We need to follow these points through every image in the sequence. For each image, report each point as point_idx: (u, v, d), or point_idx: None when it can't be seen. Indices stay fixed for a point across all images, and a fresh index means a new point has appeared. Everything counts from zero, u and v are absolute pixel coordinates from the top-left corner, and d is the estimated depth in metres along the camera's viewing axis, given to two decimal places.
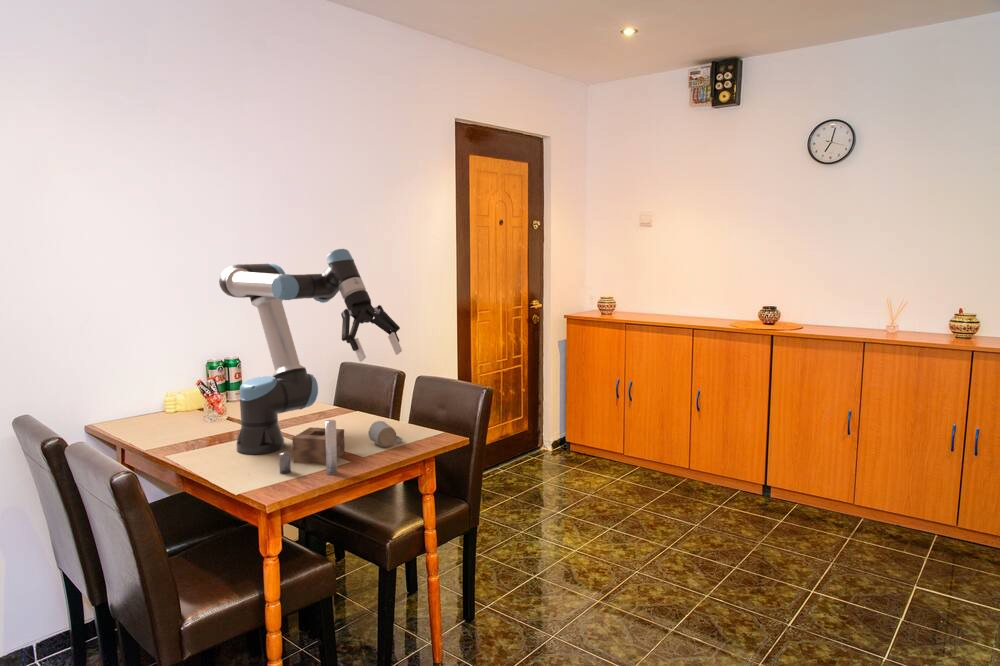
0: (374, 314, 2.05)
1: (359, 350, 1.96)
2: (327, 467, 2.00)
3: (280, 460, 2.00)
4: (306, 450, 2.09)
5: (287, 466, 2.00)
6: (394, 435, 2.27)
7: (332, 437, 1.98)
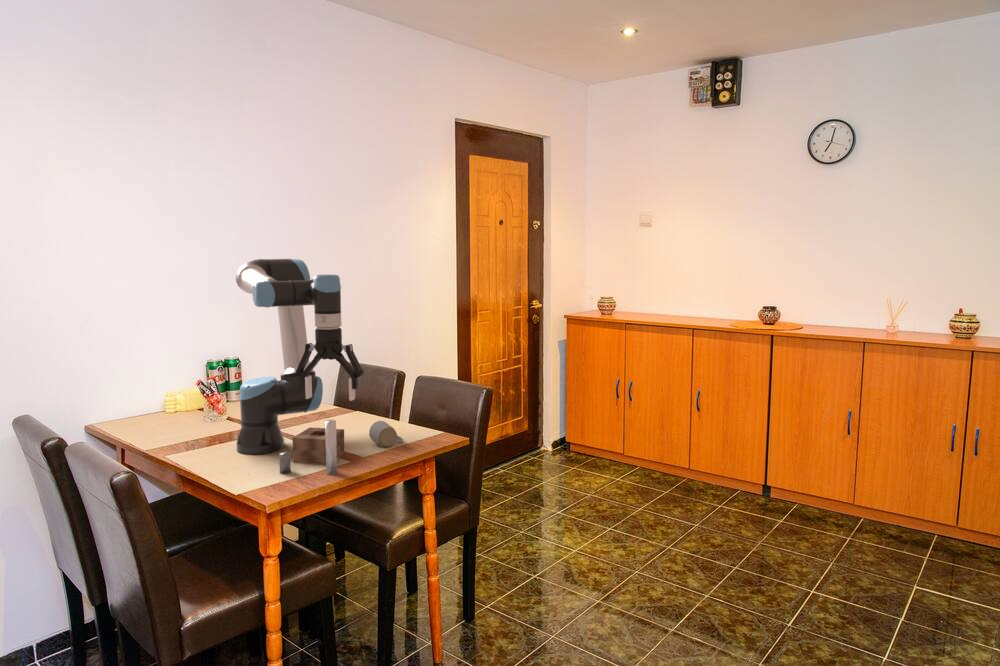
0: (335, 356, 1.94)
1: None
2: (327, 467, 2.00)
3: (280, 460, 2.00)
4: (306, 450, 2.09)
5: (287, 466, 2.00)
6: (395, 435, 2.27)
7: (332, 437, 1.98)
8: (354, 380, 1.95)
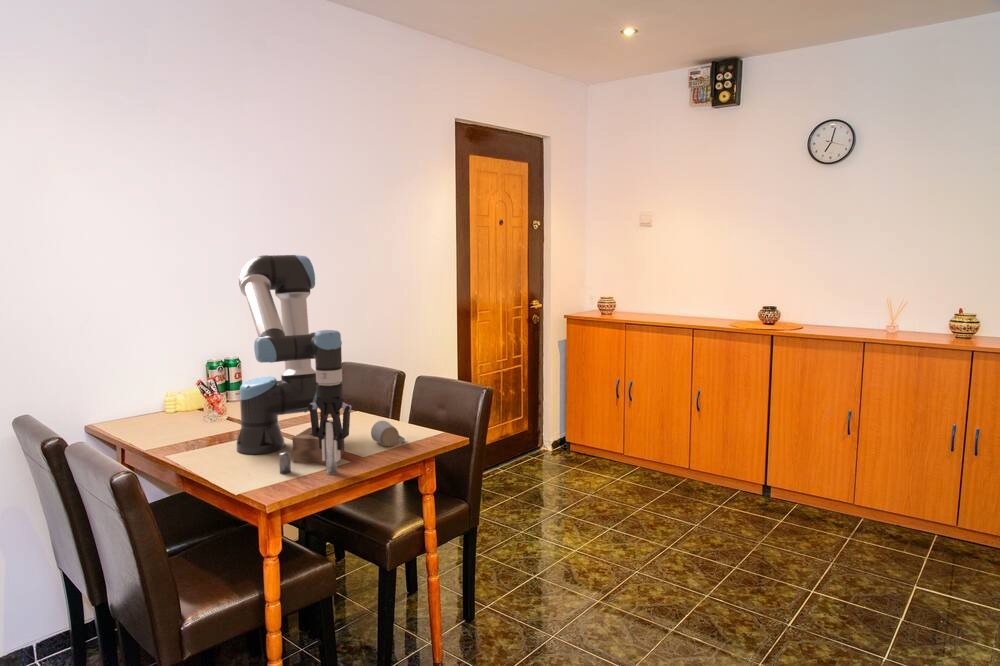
0: (332, 412, 1.97)
1: None
2: (327, 467, 2.00)
3: (280, 460, 2.00)
4: (306, 450, 2.09)
5: (287, 466, 2.00)
6: (396, 435, 2.27)
7: (332, 437, 1.98)
8: (339, 441, 1.99)
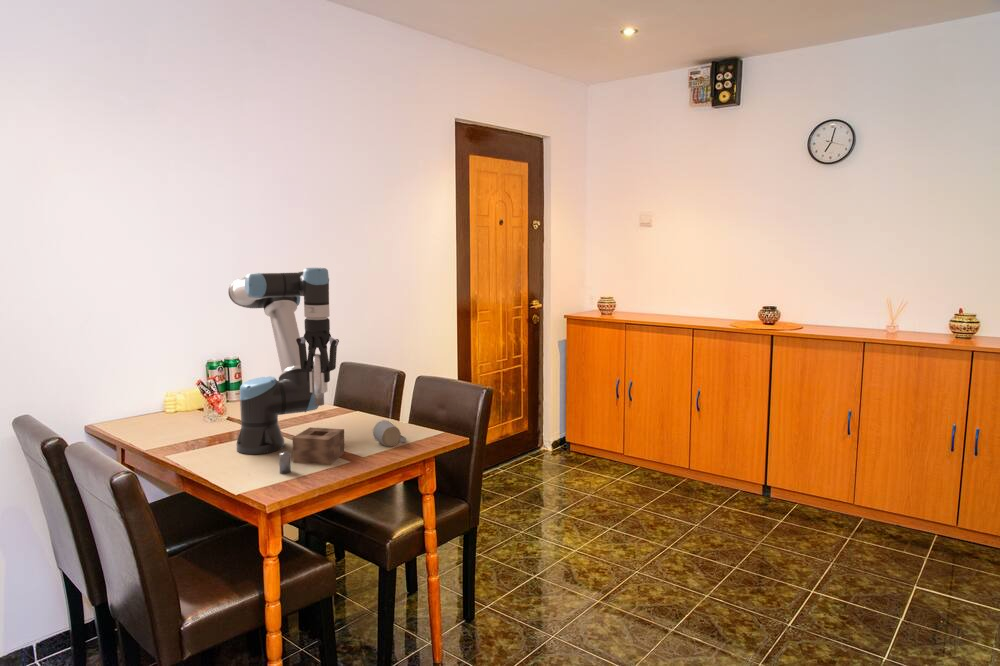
0: (319, 346, 2.07)
1: None
2: (314, 398, 2.10)
3: (280, 460, 2.00)
4: (306, 450, 2.09)
5: (287, 466, 2.00)
6: (398, 434, 2.28)
7: (319, 369, 2.08)
8: (326, 374, 2.09)
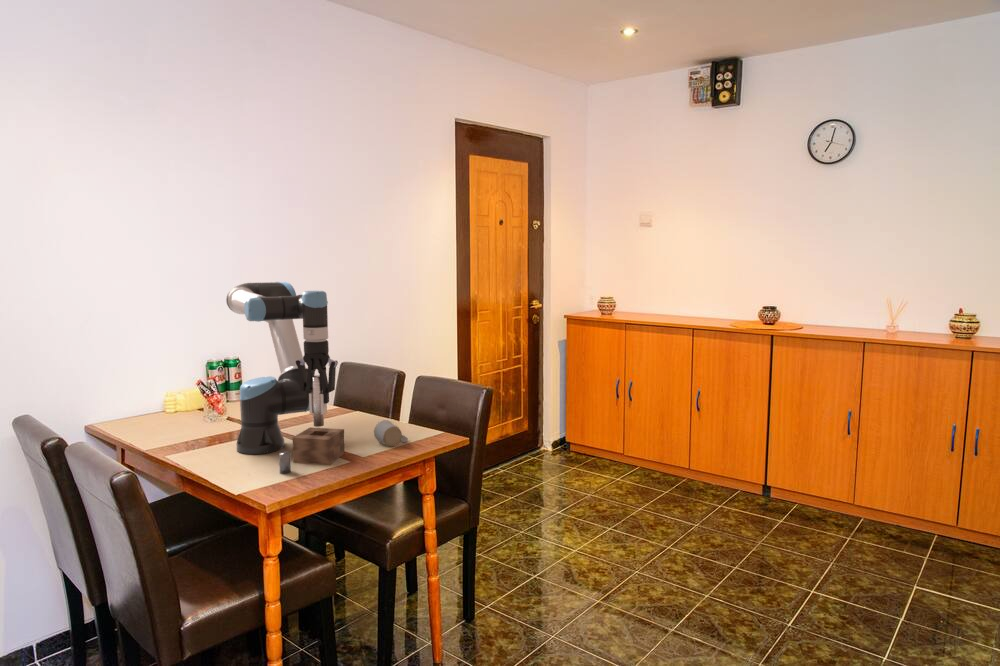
0: (318, 367, 2.10)
1: None
2: (314, 419, 2.12)
3: (280, 460, 2.00)
4: (306, 450, 2.09)
5: (287, 466, 2.00)
6: (399, 434, 2.28)
7: (318, 390, 2.11)
8: (325, 395, 2.11)
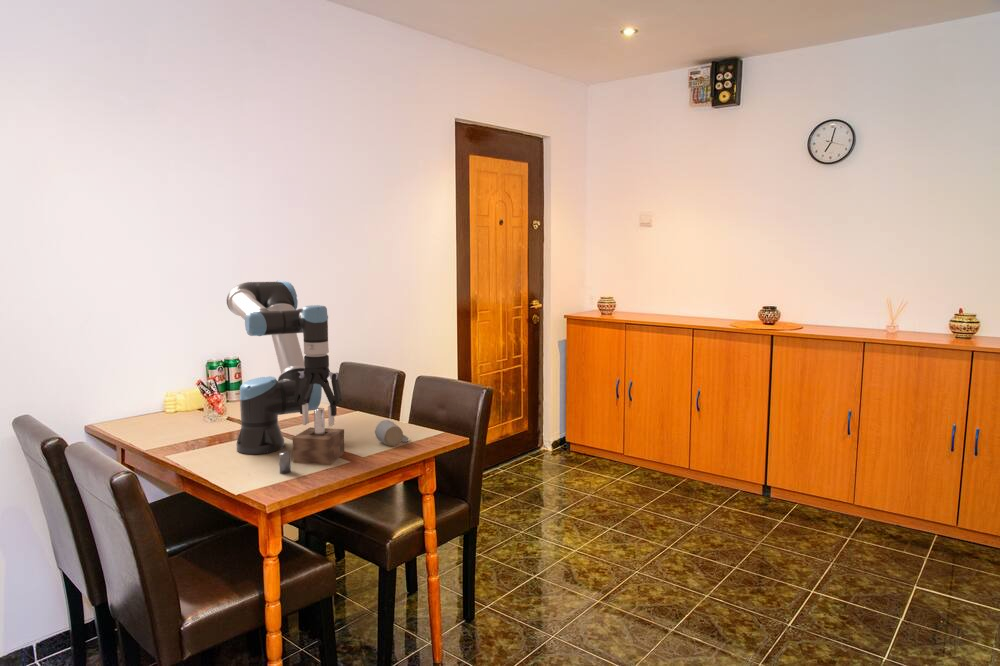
0: (320, 381, 2.10)
1: None
2: None
3: (280, 460, 2.00)
4: (306, 450, 2.09)
5: (287, 466, 2.00)
6: (400, 434, 2.28)
7: (320, 423, 2.13)
8: (333, 407, 2.12)
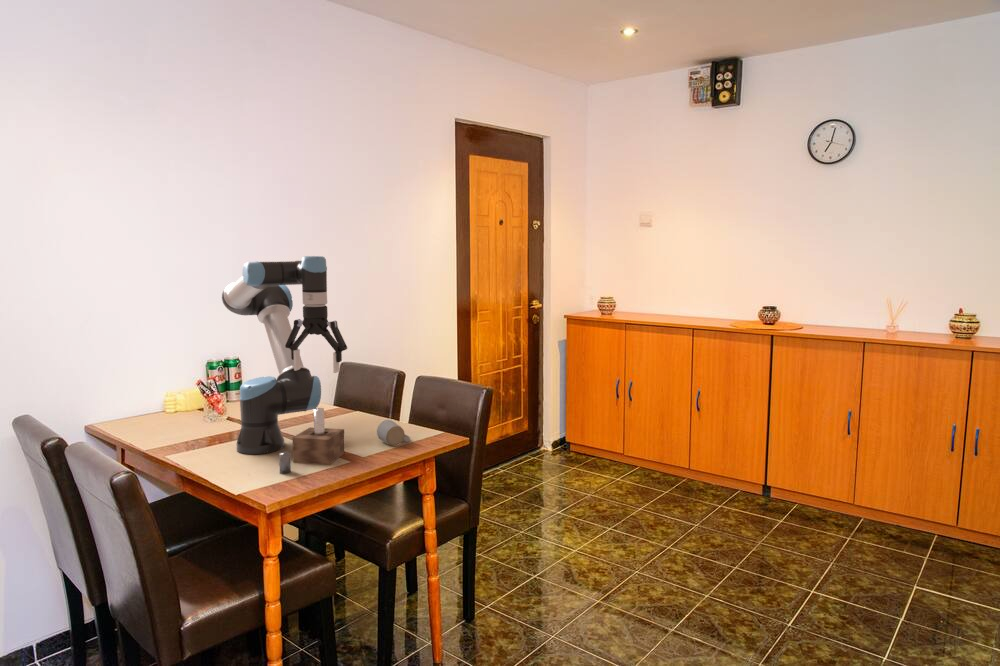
0: (320, 331, 2.11)
1: None
2: None
3: (280, 460, 2.00)
4: (306, 450, 2.09)
5: (287, 466, 2.00)
6: (402, 434, 2.28)
7: (320, 423, 2.13)
8: (338, 354, 2.12)
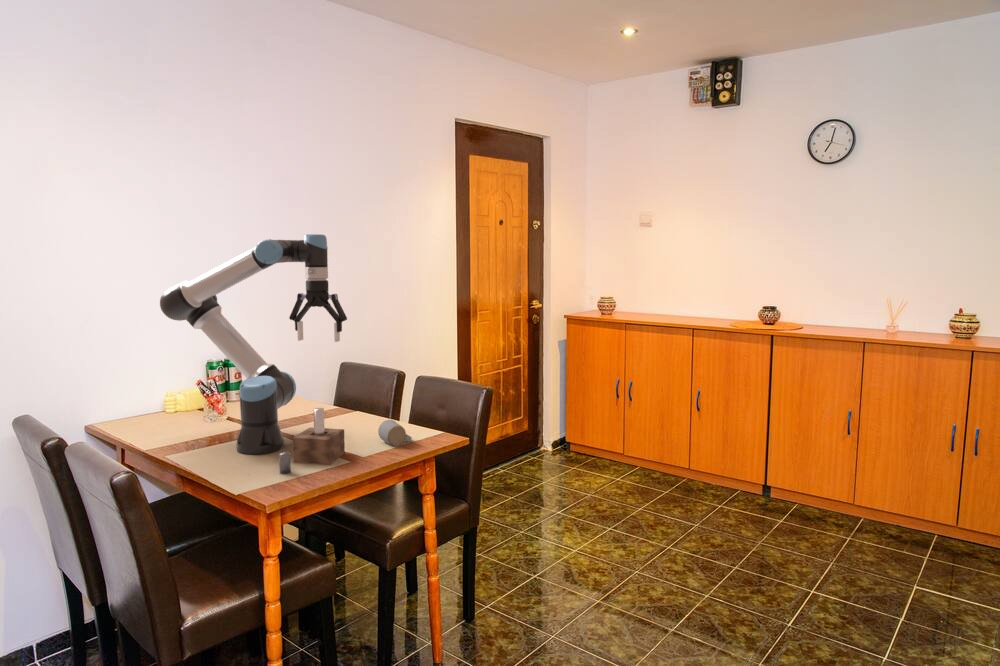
0: (322, 303, 2.29)
1: None
2: None
3: (280, 460, 2.00)
4: (306, 450, 2.09)
5: (287, 466, 2.00)
6: (404, 433, 2.29)
7: (320, 423, 2.13)
8: (339, 324, 2.30)
